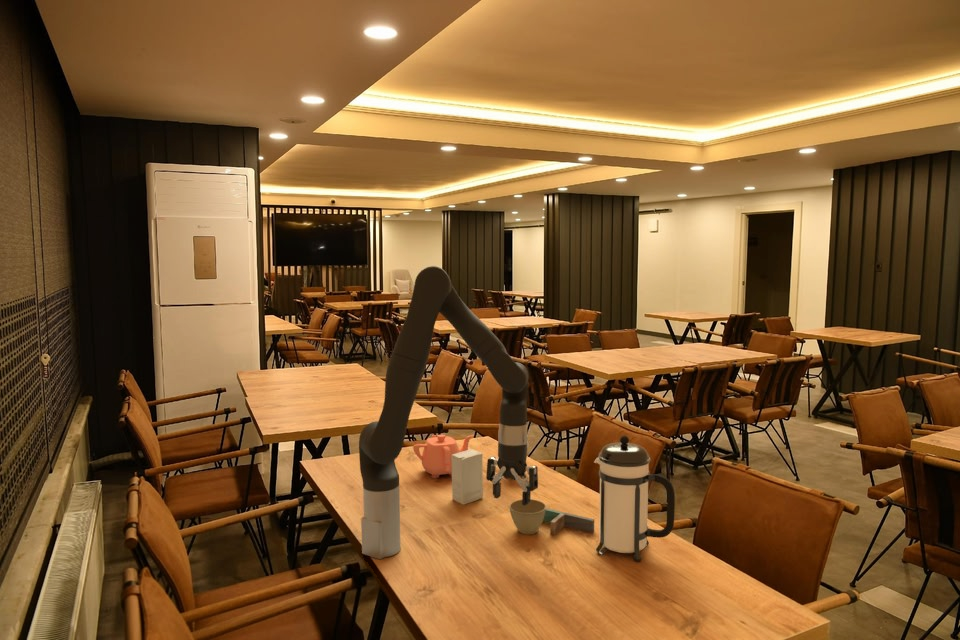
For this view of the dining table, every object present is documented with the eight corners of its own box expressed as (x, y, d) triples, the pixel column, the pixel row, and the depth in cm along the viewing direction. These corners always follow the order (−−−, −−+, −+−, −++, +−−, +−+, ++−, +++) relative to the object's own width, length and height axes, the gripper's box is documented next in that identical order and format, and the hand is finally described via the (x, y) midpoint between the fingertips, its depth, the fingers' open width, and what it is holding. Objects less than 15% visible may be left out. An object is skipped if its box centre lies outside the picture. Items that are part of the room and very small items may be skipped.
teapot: (433, 462, 234) (432, 426, 232) (474, 469, 227) (474, 432, 225) (410, 476, 219) (410, 438, 218) (454, 484, 212) (454, 444, 211)
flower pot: (524, 520, 183) (524, 496, 182) (553, 530, 176) (553, 505, 175) (502, 531, 175) (502, 506, 174) (530, 542, 169) (530, 516, 168)
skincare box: (472, 493, 203) (471, 448, 202) (484, 498, 199) (483, 452, 197) (450, 500, 198) (450, 453, 197) (462, 505, 193) (462, 458, 192)
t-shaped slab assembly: (583, 542, 168) (583, 529, 168) (523, 527, 178) (523, 515, 177) (594, 531, 175) (594, 519, 174) (535, 517, 184) (535, 505, 184)
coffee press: (611, 568, 154) (613, 448, 151) (583, 540, 169) (584, 430, 166) (675, 559, 159) (678, 441, 155) (642, 532, 174) (644, 425, 171)
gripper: (481, 438, 166) (480, 499, 167) (529, 448, 158) (528, 511, 159) (497, 432, 172) (495, 491, 173) (543, 441, 164) (542, 502, 165)
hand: (511, 501), depth 166 cm, fingers open, 8 cm apart
